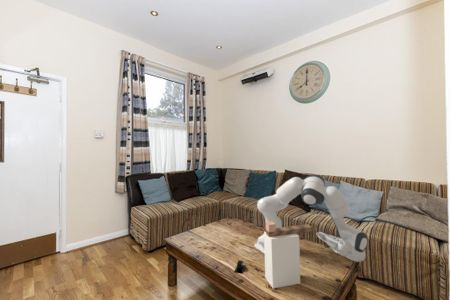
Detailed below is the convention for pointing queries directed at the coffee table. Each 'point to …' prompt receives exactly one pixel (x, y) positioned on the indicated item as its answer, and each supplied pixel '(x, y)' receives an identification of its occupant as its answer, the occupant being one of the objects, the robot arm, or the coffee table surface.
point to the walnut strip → (290, 230)
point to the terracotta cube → (270, 226)
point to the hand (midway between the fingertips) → (322, 237)
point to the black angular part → (240, 267)
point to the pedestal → (282, 260)
